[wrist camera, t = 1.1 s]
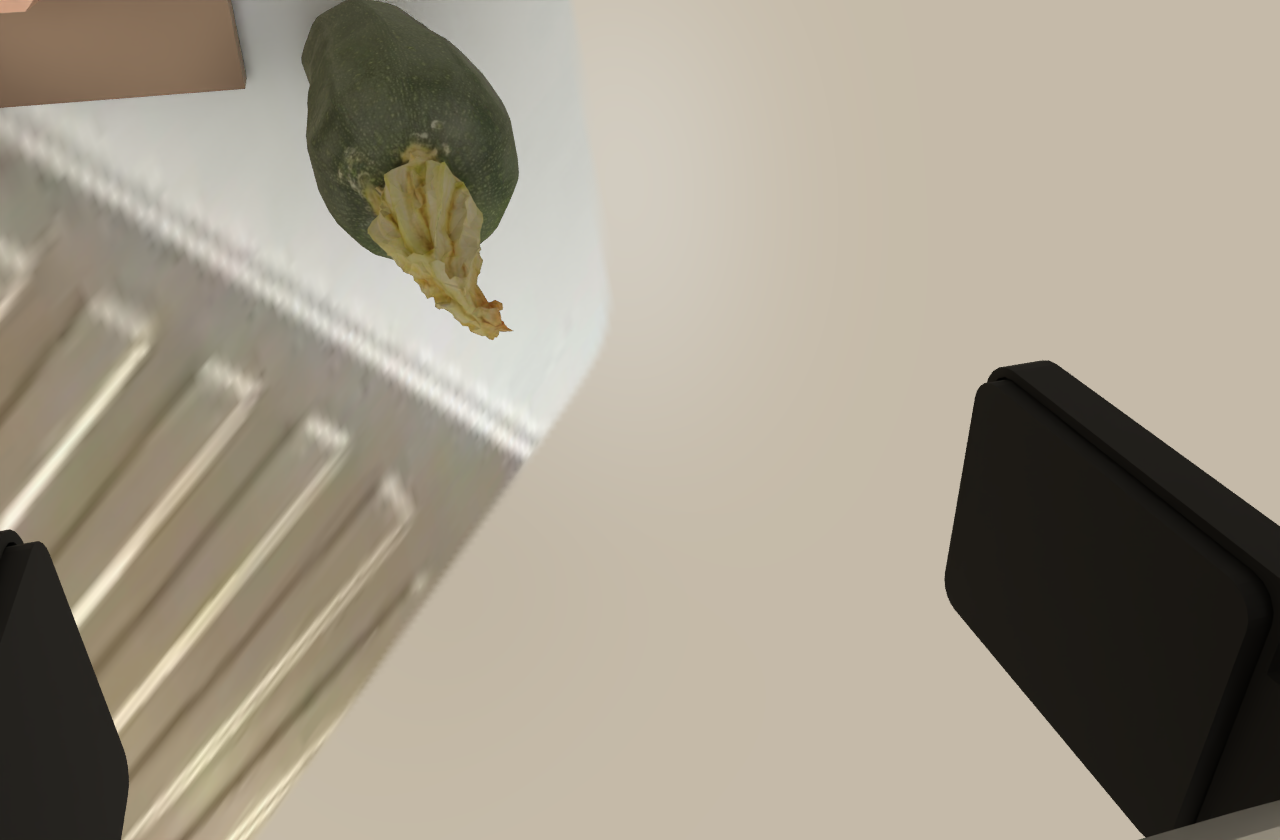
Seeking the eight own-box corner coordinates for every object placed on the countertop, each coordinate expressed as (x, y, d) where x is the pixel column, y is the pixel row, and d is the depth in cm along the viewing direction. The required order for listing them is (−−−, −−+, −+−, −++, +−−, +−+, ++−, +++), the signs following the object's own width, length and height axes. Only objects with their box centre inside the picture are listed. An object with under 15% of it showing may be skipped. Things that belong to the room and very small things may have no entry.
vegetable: (279, -23, 32) (276, 166, 15) (418, -54, 33) (557, 97, 16) (326, 119, 34) (366, 415, 18) (454, 89, 35) (608, 345, 19)
